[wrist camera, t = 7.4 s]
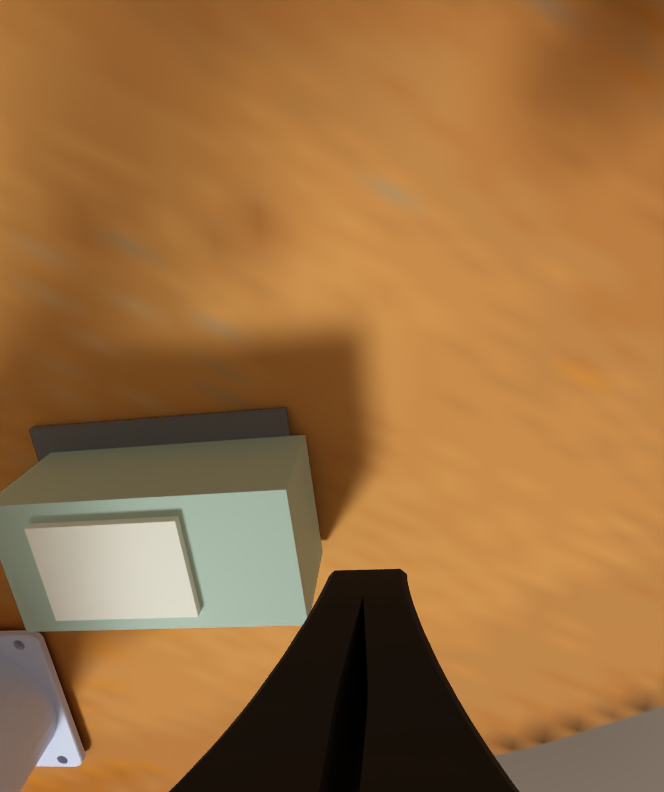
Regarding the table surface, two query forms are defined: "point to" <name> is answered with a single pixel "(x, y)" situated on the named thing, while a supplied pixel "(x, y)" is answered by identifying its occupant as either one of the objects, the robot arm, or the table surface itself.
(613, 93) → the table surface
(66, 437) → the mat
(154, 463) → the sage block
